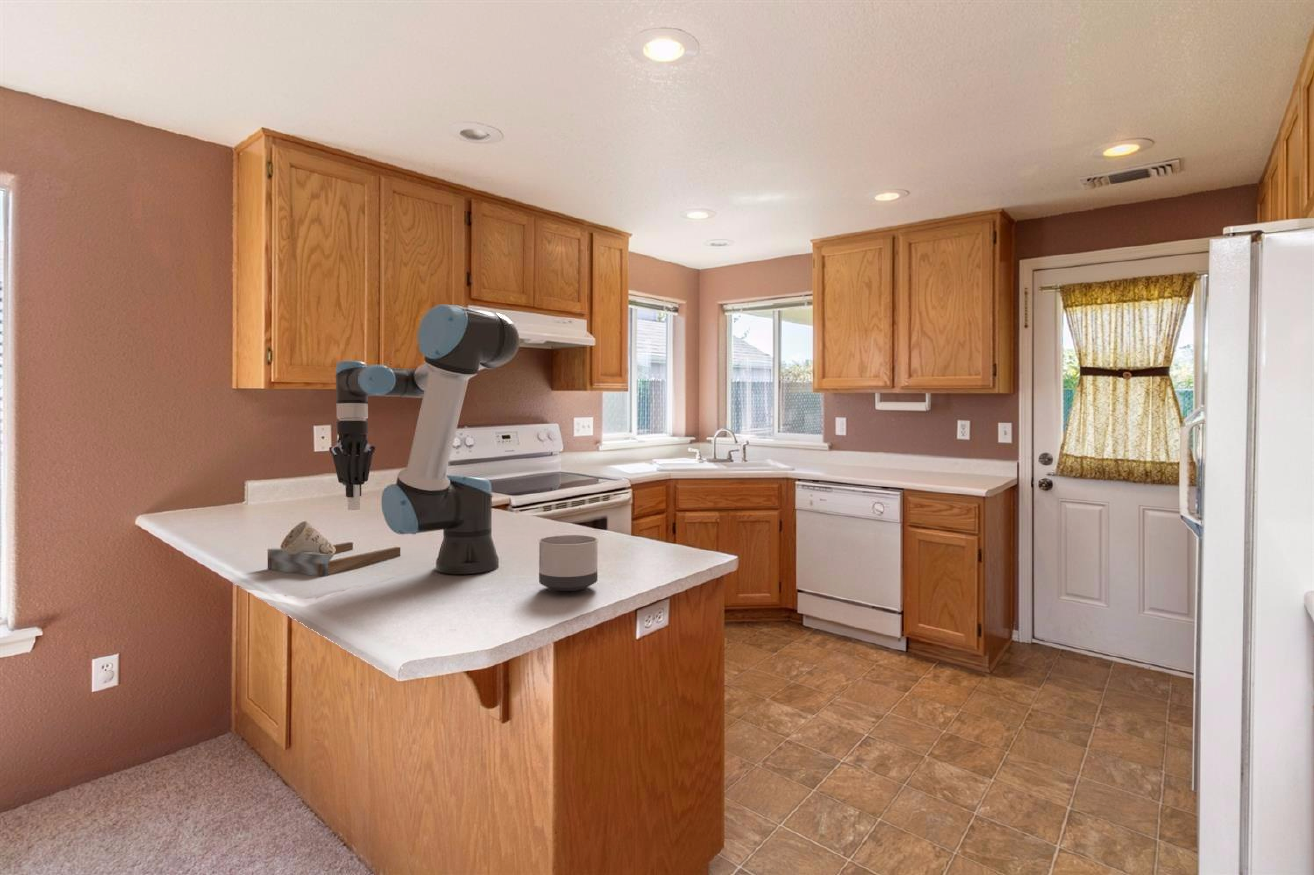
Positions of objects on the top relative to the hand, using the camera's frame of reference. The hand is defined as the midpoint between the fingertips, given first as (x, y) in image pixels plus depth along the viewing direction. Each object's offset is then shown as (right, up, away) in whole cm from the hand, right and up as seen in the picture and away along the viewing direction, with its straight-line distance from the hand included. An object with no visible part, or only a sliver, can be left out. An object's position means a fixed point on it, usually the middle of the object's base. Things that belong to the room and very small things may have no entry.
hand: (353, 509), depth 174 cm
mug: (-5, -12, -7) cm, 15 cm away
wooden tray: (-3, -14, -4) cm, 14 cm away
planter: (+60, -14, -28) cm, 68 cm away
